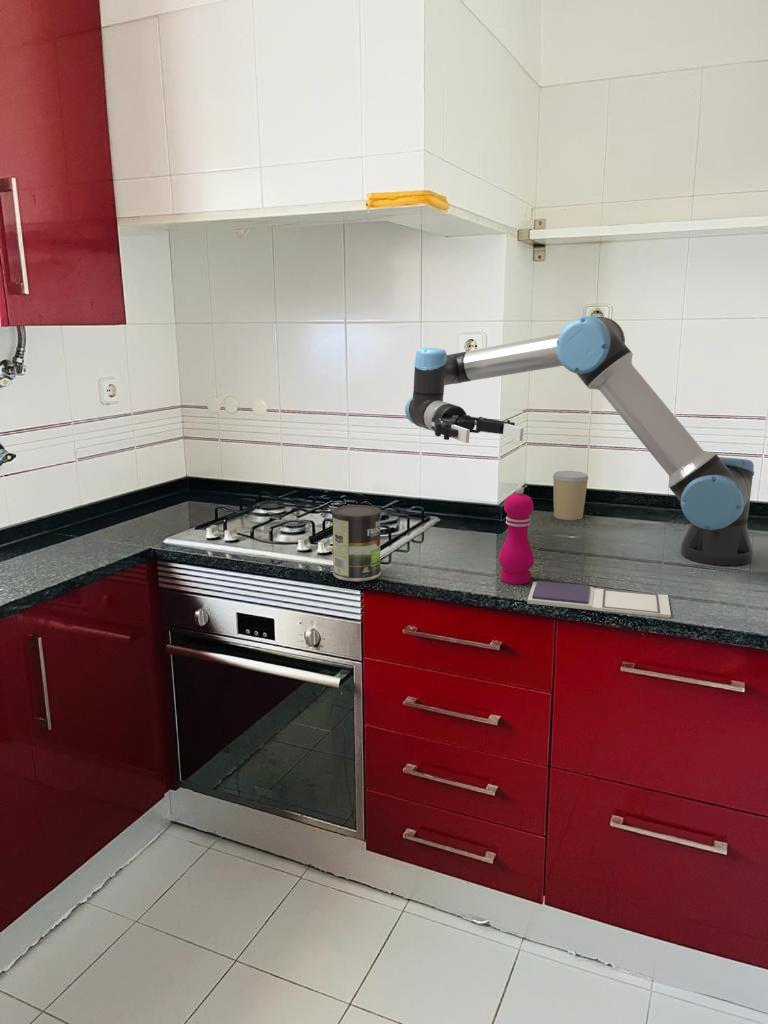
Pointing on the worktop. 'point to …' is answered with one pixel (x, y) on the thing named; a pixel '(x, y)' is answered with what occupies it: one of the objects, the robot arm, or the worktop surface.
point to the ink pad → (561, 595)
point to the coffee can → (356, 542)
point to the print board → (631, 602)
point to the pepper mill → (517, 539)
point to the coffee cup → (569, 494)
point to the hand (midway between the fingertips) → (495, 435)
